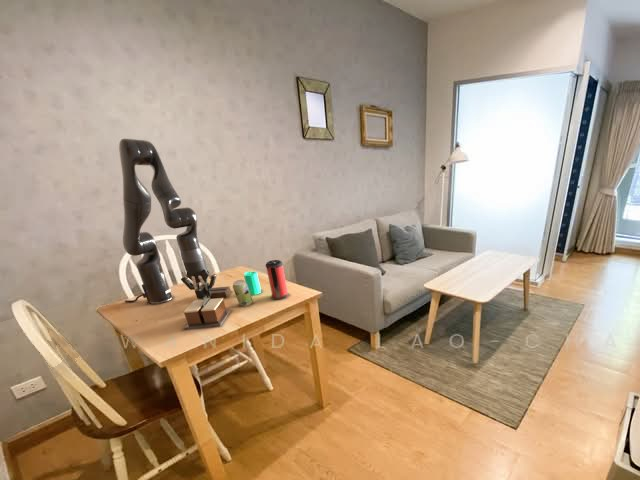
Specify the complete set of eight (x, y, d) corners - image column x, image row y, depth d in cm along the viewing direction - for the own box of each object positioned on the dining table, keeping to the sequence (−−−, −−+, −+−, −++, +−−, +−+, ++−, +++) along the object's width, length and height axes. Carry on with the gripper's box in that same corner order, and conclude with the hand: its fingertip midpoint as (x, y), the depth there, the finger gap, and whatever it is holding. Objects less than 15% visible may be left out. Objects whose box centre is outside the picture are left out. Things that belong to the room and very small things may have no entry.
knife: (210, 307, 148) (202, 283, 143) (216, 307, 148) (208, 282, 143) (202, 317, 140) (194, 291, 135) (208, 316, 140) (200, 290, 135)
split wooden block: (184, 329, 136) (179, 313, 132) (197, 313, 148) (193, 299, 145) (220, 326, 138) (216, 310, 134) (230, 311, 150) (226, 296, 147)
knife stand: (203, 299, 162) (201, 294, 161) (208, 293, 169) (207, 288, 168) (226, 297, 164) (225, 292, 162) (231, 291, 170) (229, 286, 169)
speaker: (290, 297, 163) (284, 262, 155) (274, 301, 159) (267, 265, 151) (285, 292, 168) (279, 258, 161) (270, 295, 164) (263, 261, 157)
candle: (248, 291, 170) (242, 269, 165) (260, 289, 172) (255, 267, 167) (248, 295, 165) (243, 273, 160) (261, 293, 167) (256, 271, 162)
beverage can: (255, 300, 159) (249, 277, 154) (249, 307, 153) (243, 283, 148) (242, 301, 159) (236, 278, 154) (235, 308, 153) (229, 284, 148)
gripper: (214, 254, 138) (225, 292, 145) (178, 257, 136) (191, 295, 143) (208, 260, 131) (219, 299, 139) (170, 263, 129) (183, 302, 137)
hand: (205, 297), depth 141 cm, fingers closed on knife, 2 cm apart
